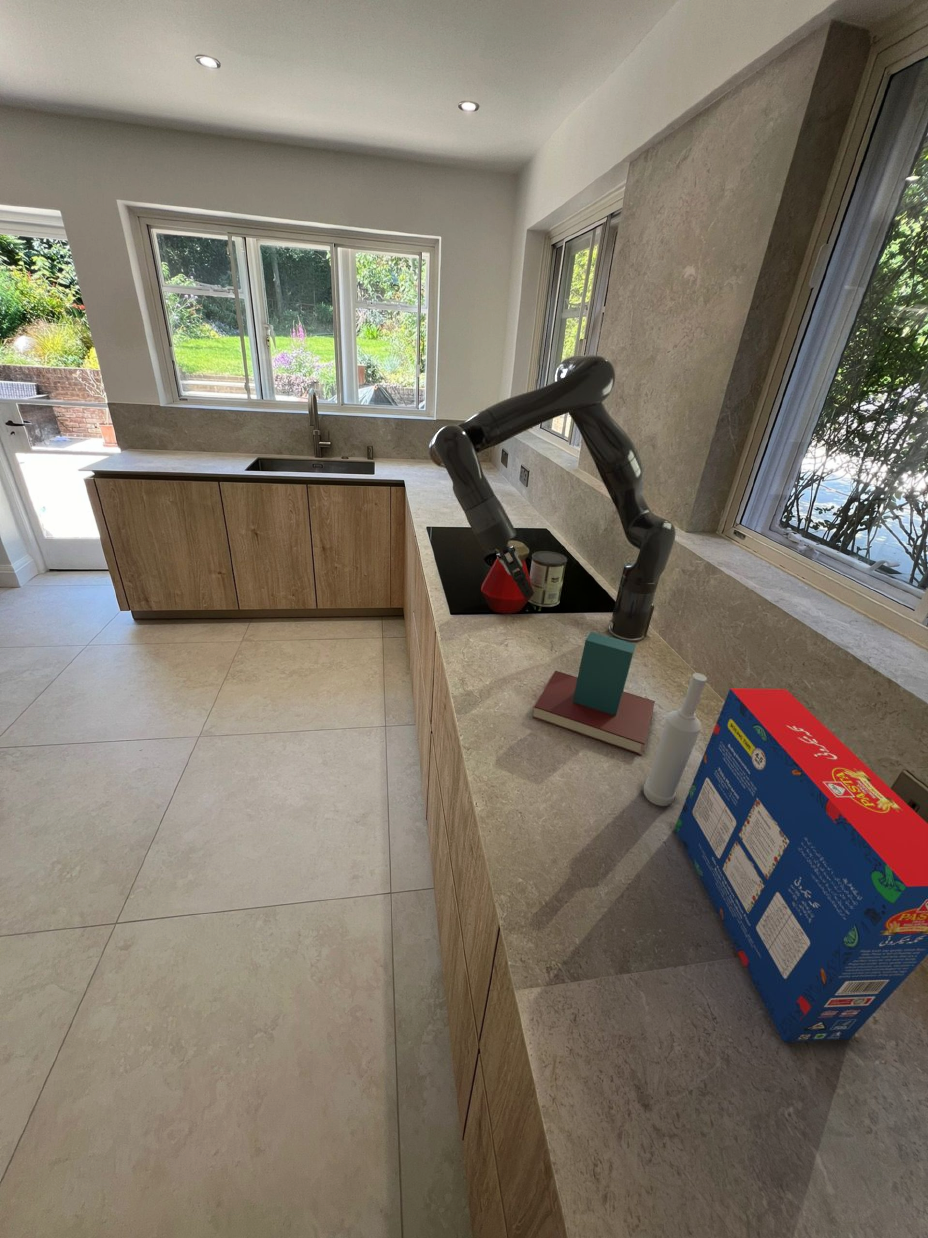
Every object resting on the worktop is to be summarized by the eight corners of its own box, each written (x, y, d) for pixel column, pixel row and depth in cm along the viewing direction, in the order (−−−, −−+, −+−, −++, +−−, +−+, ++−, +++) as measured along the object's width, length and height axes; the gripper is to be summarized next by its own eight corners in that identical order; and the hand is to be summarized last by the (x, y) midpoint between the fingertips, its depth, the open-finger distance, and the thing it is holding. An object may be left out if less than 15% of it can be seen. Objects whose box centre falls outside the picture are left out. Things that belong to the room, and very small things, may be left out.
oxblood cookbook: (532, 717, 102) (534, 706, 100) (553, 681, 114) (555, 670, 113) (641, 755, 94) (645, 743, 93) (651, 712, 106) (655, 701, 105)
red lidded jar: (522, 596, 153) (530, 534, 144) (538, 617, 142) (548, 551, 132) (473, 599, 149) (478, 535, 140) (485, 620, 138) (492, 552, 129)
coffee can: (539, 589, 159) (545, 548, 152) (566, 600, 153) (573, 558, 146) (519, 598, 152) (525, 555, 145) (546, 610, 146) (554, 566, 139)
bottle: (673, 789, 87) (716, 671, 75) (674, 811, 83) (720, 690, 71) (642, 780, 88) (680, 664, 77) (642, 801, 84) (682, 682, 72)
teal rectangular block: (572, 701, 103) (585, 640, 95) (577, 691, 106) (590, 631, 99) (615, 716, 99) (632, 653, 92) (619, 705, 103) (636, 643, 96)
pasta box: (850, 1039, 56) (991, 884, 42) (783, 1042, 55) (906, 886, 42) (721, 828, 80) (785, 689, 67) (674, 829, 80) (730, 688, 66)
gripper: (510, 516, 92) (548, 590, 96) (503, 510, 106) (537, 575, 110) (474, 536, 93) (514, 608, 97) (472, 528, 107) (507, 591, 111)
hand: (526, 591), depth 103 cm, fingers open, 8 cm apart
